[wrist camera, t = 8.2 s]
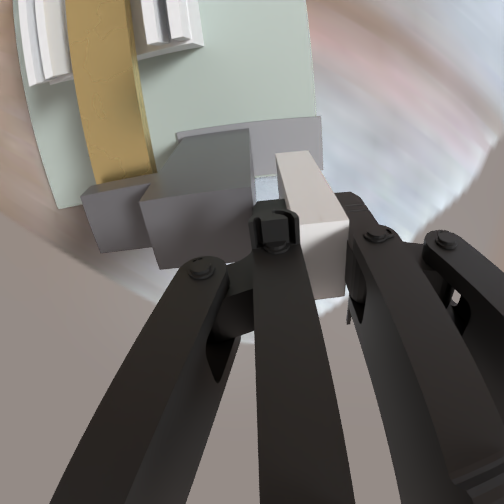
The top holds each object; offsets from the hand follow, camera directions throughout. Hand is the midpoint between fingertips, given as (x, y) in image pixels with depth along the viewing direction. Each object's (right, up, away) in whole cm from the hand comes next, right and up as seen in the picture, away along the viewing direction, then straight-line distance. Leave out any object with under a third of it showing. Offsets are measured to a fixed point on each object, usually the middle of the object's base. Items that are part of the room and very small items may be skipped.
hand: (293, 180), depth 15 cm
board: (-8, +11, +2) cm, 14 cm away
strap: (-9, +7, -3) cm, 12 cm away
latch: (-6, +3, +5) cm, 8 cm away
